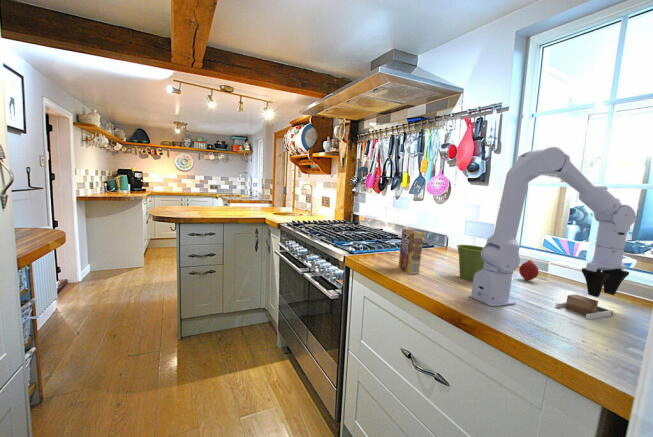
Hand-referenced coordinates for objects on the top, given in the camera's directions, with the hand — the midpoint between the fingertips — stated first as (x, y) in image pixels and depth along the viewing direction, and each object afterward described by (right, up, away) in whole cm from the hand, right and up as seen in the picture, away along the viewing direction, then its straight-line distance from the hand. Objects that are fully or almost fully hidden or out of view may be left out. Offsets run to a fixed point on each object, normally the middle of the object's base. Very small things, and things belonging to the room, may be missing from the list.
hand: (601, 294), depth 83 cm
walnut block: (-8, -4, -3) cm, 10 cm away
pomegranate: (-4, -2, +25) cm, 25 cm away
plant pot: (-26, 0, +22) cm, 34 cm away
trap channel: (-7, -4, -2) cm, 9 cm away
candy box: (-47, +2, +27) cm, 54 cm away
